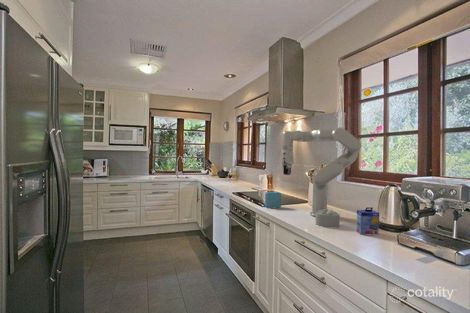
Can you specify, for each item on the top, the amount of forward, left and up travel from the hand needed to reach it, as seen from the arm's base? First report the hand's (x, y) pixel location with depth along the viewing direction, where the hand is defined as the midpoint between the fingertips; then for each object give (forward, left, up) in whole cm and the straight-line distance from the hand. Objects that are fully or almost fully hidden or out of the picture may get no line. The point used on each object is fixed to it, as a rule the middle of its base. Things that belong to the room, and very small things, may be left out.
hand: (287, 173), depth 172 cm
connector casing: (0, 0, -1) cm, 1 cm away
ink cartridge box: (-54, +12, -29) cm, 62 cm away
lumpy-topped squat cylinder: (-32, +11, -29) cm, 44 cm away
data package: (+16, -8, -29) cm, 34 cm away
